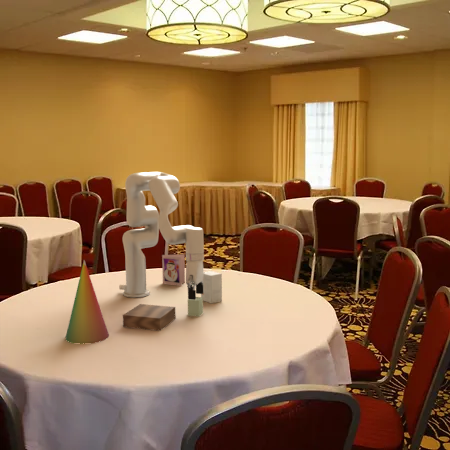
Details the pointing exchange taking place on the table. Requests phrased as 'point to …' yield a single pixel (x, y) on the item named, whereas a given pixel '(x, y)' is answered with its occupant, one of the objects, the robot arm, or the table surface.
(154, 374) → the table surface
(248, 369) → the table surface
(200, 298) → the sage block
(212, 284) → the small box
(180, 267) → the greeting card
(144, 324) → the walnut base
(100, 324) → the decorative cone
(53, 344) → the table surface
